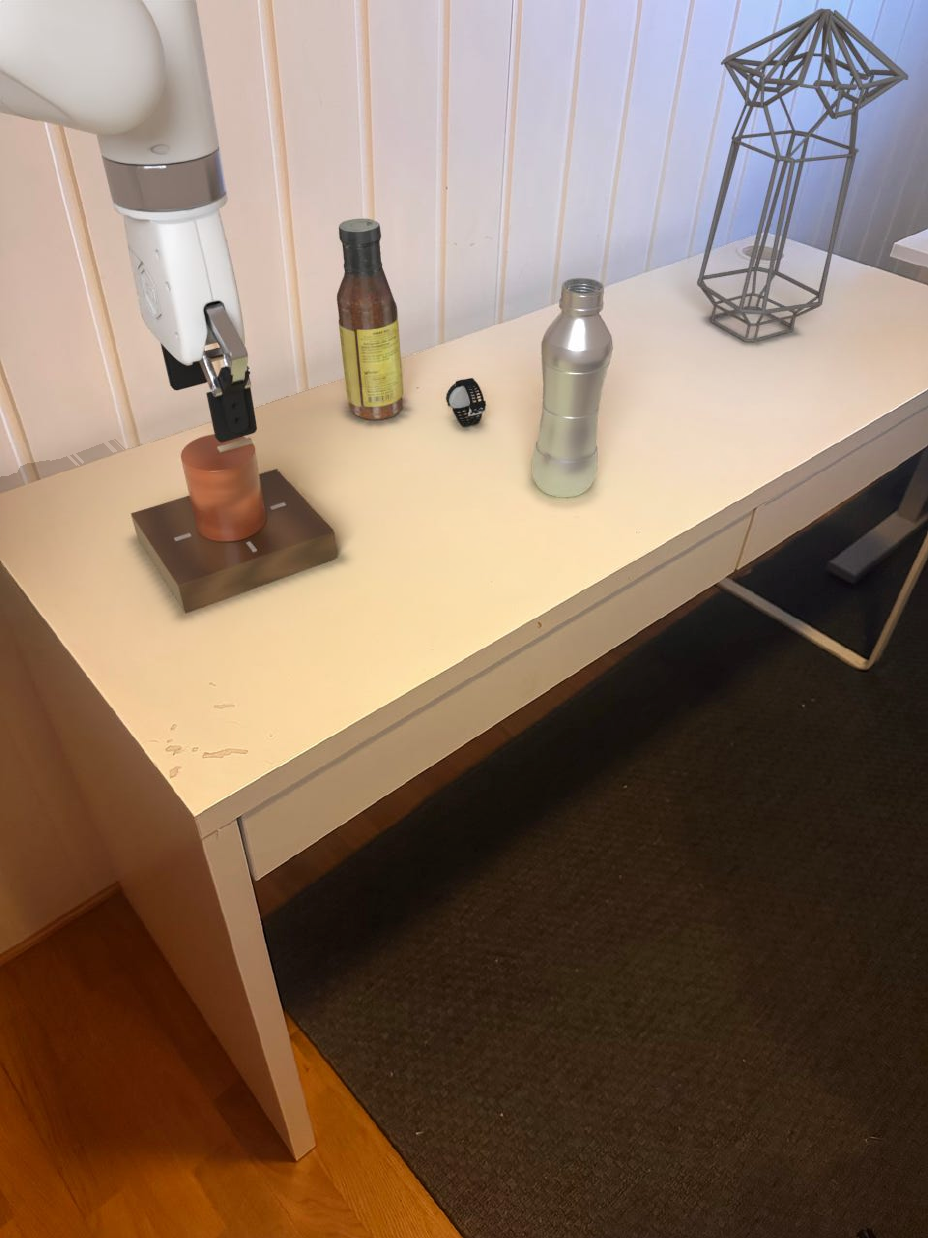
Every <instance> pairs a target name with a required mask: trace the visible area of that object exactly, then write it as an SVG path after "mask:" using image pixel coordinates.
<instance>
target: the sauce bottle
mask: <svg viewBox="0 0 928 1238" xmlns="http://www.w3.org/2000/svg"><path fill="white" fill-rule="evenodd" d="M338 236H339V240H340V242H341V245H342V254H343V261H344V263H343V269H344V273H343V277H342V280H341V282H340V285H339V288H338V291H337V293H336V304H337V311H338V328H339V337H340V347H341V355H342V364H343V373H344V381H345V388H346V397H347V400H348V402H349V410H350V412H351V414H353V415H355V416H357V417H359V418H361V419H364V420H369V421H383V420H387V419H389V418H393V417H395V416H396V415H398V414H399V413H400V412H401V411H402V409H403V407H404V405H403V396H404V380H403V367H402V366H403V365H402V355H401V354H402V353H401V339H400V329H399V327H400V326H399V314H398V313H399V312H398V306H397V303H396V301H395V298H394V295H393V293H392V290H391V287H390V285H389V281H388V279H387V276H386V273H385V270H384V268H383V263H382V256H381V255H382V253H381V244H380V241H381V240H382V239H381V238H382V232H381V226H380V223H379V222H378V221H376V220H374V219H371V218H353V219H352V218H351V219H348V220H344V221H342V222H341V223H339V224H338Z"/></svg>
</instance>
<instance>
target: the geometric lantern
mask: <svg viewBox="0 0 928 1238" xmlns="http://www.w3.org/2000/svg"><path fill="white" fill-rule="evenodd" d="M814 27H815V28H814ZM813 29H814V33H813V35H812V39H811V42H810V45H809V48H808V50H807V51H805V52H802V53H798V54H797V52H798V51H799V49H800V48H801V47H802V45H803V43H804V42H805V41H806V39H807V38H808V37H809V35H810V33H811V32H812V30H813ZM792 31H793V32H792ZM790 32H792V33H791V34H790V35H789V36H788V37H787V38H786V39H785V40H784V41H783V42H782V43H781V44H779V45H778V47H776V48H775V49H774V50H773V51H772V52H771V53H770V54H769V55H768V56H767V57H766V58H765V59H764V60H763V61H762V60H753V59H746V58H739V57H741V56H743V55H745V54H747V53H749V52H751V51H753V50H755V49H757V48H759V47H761V46H764V45H766V44H767V43H770V42H771V41H774V40H775V39H777V38H780V37H782V36H783V35H786V34H788V33H790ZM820 36H821V49H820V53H819V52H818V53H817V52H815V51H816V48H817V45H818V42H819V40H820ZM849 36H850V37H851V38H850V37H849ZM833 38H834V40H835V41H836V44H837V46H838V47H839V50H840V52H841V54H842V56H843V58H844V61H845V62H844V61H841V60H839V59H838V58H836V53H835V52H836V51H835V47H834V40H833ZM851 39H853V40H854V41H856V42H857V43H858V44H859V45H860V46H861V47H862V48H863V49H865V50H866V51H867V52H869V54H871V55H872V56H873V57H874V58H875V59H876V60H878V61H879V63H881V64H882V65H884V66H885V67H886V68H887V69H870V67H869V66H868V64H867V63H866V62H865V60H864V59H863V57H862V55H861V53H860V52H859V50H858V49H857V48H856V46H855V45H854V43H853V41H852V40H851ZM786 48H787V49H786ZM785 49H786V50H785ZM827 49H828V54H827ZM848 49H849V50H848ZM784 50H785V52H783V51H784ZM849 51H850V52H849ZM782 52H783V54H781V53H782ZM850 53H851V54H852V55H853V57H854V59H855V61H856V62H857V63H858V64H859V66H860V68H861V69H862V71H863V72H864V73H863V72H859V70H858V69H857V68H856V66H855V64H854V61H853V59H852V57H851V55H850ZM780 54H781V56H780V58H779V59H776V58H777V57H778V56H779V55H780ZM813 57H819V58H820V57H821V58H820V59H821V60H820V64H819V70H818V76H817V79H816V80H814V82H813V83H812V84H806V83H805V80H806V77H807V74H808V72H809V69H810V65H811V62H812V61H813V60H812V59H813ZM798 60H799V62H798V63H797V64H796V66H795V67H794V68H793V69H792V70H791V71H790V72H789V73H788V74H787V76H786V77H785V78H784V75H785V72H786V68H787V67H788V65H789V64H790V63H792V62H796V61H798ZM720 65H721V66H723V65H724V67H725V68H726V71H727V72H728V74H729V76H730V77H731V79H732V81H733V83H734V85H735V86H736V88H737V89H738V91H739V93H740V95H741V97H742V99H743V100H744V105H743V108H742V110H741V113H740V115H739V118H738V121H737V123H736V126H735V128H734V131H733V134H732V135H731V138H730V139H731V142H730V146H729V151H728V154H727V159H726V162H725V168H724V171H723V176H722V179H721V183H720V188H719V193H718V196H717V201H716V205H715V207H714V208H715V209H714V211H713V217H712V221H711V226H710V229H709V233H708V238H707V240H706V241H707V242H706V245H705V250H704V254H703V259H702V262H701V266H700V270H699V275H698V278H697V281H696V285H697V287H699V288H700V289H701V291H702V292H703V294H704V295H705V296H706V298H707V299H708V301H709V302H710V303H711V304H712V310H711V315H710V317H709V319H710V322H711V323H712V324H714V325H716V326H718V327H719V328H721V329H723V331H726V332H728V333H729V334H731V335H733V336H735V337H736V338H738V339H740V340H741V341H743V342H745V343H757V342H759V341H762V340H766V339H770V338H774V337H777V336H781V335H784V334H788V333H792V332H794V328H795V327H794V326H795V322H796V319H797V318H798V317H800V316H802V315H805V314H806V313H809V312H811V311H813V310H815V309H817V308H819V307H821V306H822V305H823V301H824V295H825V290H826V286H827V281H828V276H829V271H830V266H831V262H832V256H833V253H834V247H835V243H836V239H837V236H838V232H839V228H840V223H841V218H842V214H843V211H844V207H845V203H846V198H847V195H848V190H849V186H850V182H851V178H852V173H853V169H854V166H855V161H856V158H857V157H856V156H857V153H859V149H858V148H856V141H857V131H858V122H859V111H860V110H861V109H863V108H864V107H866V106H867V105H869V104H870V103H872V102H873V101H875V100H876V99H878V98H879V97H880V96H882V95H883V94H884V93H886V92H887V91H890V89H893V87H895V86H896V85H898V84H899V83H900V82H902V81H904V80H905V81H908V80H909V75H908V73H907V72H906V71H904V70H903V69H902V68H901V67H900V66H898V64H897V63H896V62H894V61H893V59H891V58H890V57H889V56H888V55H887V54H886V53H884V52H883V51H882V49H880V48H879V47H878V46H877V45H875V44H874V43H873V42H872V41H871V40H870V39H869V38H868V37H867V36H866V35H865V34H863V33H862V32H861V31H860V30H859V29H858V28H857V27H855V26H854V25H853V24H852V23H851V22H850V21H849V20H848V19H846V18H845V17H844V15H842V14H841V13H840V12H839V11H838V10H836V9H834V10H833V11H832V9H831V8H819V9H817V10H816V11H814V12H813V13H811V14H809V15H807V16H805V17H803V18H801V19H799V20H797V21H795V22H794V23H791V24H790V25H787V26H786V27H784V28H782V29H780V30H777V31H776V32H774V33H772V34H770V35H768V36H766V37H764V38H762V39H760V40H757V41H756V42H754V43H752V44H749V45H748V46H747V45H746V47H744V48H741V49H739V50H738V51H735V52H733V53H731V54H729V55H727V56H726V57H724V58H723V60H722V61H721V62H720ZM824 65H825V66H826V69H827V71H828V72H829V75H830V76H831V78H832V80H824V79H822V75H823V69H824ZM749 66H750V67H749ZM751 66H752V67H755V68H752V67H751ZM768 66H769V67H771V66H773V67H772V68H771V69H770V70H769V71H768V73H767V74H765V73H766V68H767V67H768ZM837 66H838V67H839V68H841V69H843V70H845V71H846V72H849V76H850V77H852V78H851V80H850V82H849V83H841V81H840V78H839V73H838V67H837ZM780 67H782V68H781V71H780V74H779V77H778V78H772V77H773V76H774V75H775V74H776V72H777V70H779V68H780ZM800 69H801V70H800ZM799 70H800V73H799V75H798V78H797V79H792V78H793V77H794V76H795V75H796V74H797V73H798V71H799ZM737 74H739V75H740V76H741V77H742V78H743V79H744V80H746V87H744V85H743V84H742V83H741V81H740V79H739V77H738V76H737ZM875 76H887V77H885V78H881V79H878V80H874V78H875ZM889 76H890V77H889ZM754 77H757V78H759V80H758V81H757V80H756V79H755V78H754ZM862 80H863V81H868V82H866V83H864V82H863V81H862ZM854 83H855V84H854ZM768 84H769V85H776V86H767V85H768ZM751 85H752V86H753V87H754V88H755V89H756V90H755V93H754V95H753V97H752V99H751V98H750V87H751ZM786 86H787V87H786ZM784 87H786V88H784ZM822 87H827V88H828V87H829V88H830V89H831V90H834V92H837V98H836V99H835V100H834V101H833V102H832V103H831V104H830V102H829V100H828V98H827V96H826V95H825V92H824V91H823V89H822ZM745 88H746V89H745ZM797 88H803V89H813V90H814V91H815V92H816V94H817V96H818V98H819V99H820V101H821V103H822V106H823V107H824V109H825V112H823V114H822V115H821V116H820V118H819V119H817V121H816V122H815V123H814V124H813V126H811V128H810V129H809V130H808V131H802V130H796V129H795V127H794V124H793V122H792V119H791V117H790V114H789V111H788V109H787V106H786V104H785V102H784V98H783V97H784V96H786V95H787V94H789V93H791V92H792V91H794V90H796V89H797ZM857 89H858V90H859V91H860V92H859V94H858V95H859V96H858V97H856V96H855V95H853V94H850V93H851V91H856V90H857ZM766 92H768V93H775V94H774V95H773V96H771V97H770V98H768V99H767V100H765V93H766ZM759 96H760V99H759V100H760V101H757V100H758V98H759ZM843 99H846V100H848V101H849V102H851V108H850V109H846V110H842V111H840V106H841V101H842V100H843ZM777 100H779V101H780V104H781V106H782V109H783V111H784V113H785V116H786V118H787V121H788V124H789V127H790V129H788V130H779V131H775V129H774V125H773V122H772V118H771V114H770V110H769V106H770V105H771V104H773V103H775V102H776V101H777ZM747 107H749V108H748V110H747ZM754 108H758V109H762V110H763V113H764V117H765V120H766V124H767V127H768V131H769V132H760V133H749V134H744V133H745V130H746V128H747V125H748V122H749V120H750V118H751V115H752V112H753V110H754ZM834 109H835V110H834ZM746 110H747V113H746V115H745V117H744V114H745V112H746ZM828 116H829V117H830V118H831V119H832V120H837V119H838V118H842V117H843V118H844V117H847V116H850V128H849V140H848V141H849V142H848V145H847V144H844V143H841V142H838V141H835V140H832V139H830V138H827V137H823V136H821V135H818V134H814V132H815V131H816V130H817V129H818V128H819V127H820V126H821V125H822V124H823V122H825V120H826V119H827V118H828ZM743 117H744V120H743ZM742 120H743V122H742ZM741 123H742V125H741ZM740 125H741V127H740ZM739 127H740V129H739ZM738 129H739V132H738ZM737 132H738V135H737ZM787 134H790V137H789V141H788V144H787V148H786V152H785V155H782V154H781V151H780V147H779V143H778V139H777V136H778V135H780V136H781V135H787ZM736 135H737V136H736ZM796 136H797V137H798V136H799V137H804V138H803V139H802V140H801V141H800V142H799V143H798V145H796V147H795V148H794V149H793V146H794V142H795V139H796ZM761 137H770V139H771V142H772V146H773V150H774V154H773V153H770V152H768V151H766V150H763V149H761V148H758V147H756V146H753V145H751V144H748V143H747V142H744V141H742V139H752V138H761ZM810 138H812V139H815V140H819V141H822V142H824V143H827V144H831V145H833V146H836V147H839V148H842V149H845V150H848V153H845V154H844V153H843V154H835V155H834V154H833V155H824V156H816V157H806V155H807V150H808V147H809V146H808V145H809V142H810ZM802 145H803V146H802ZM740 146H742V147H744V148H747V149H749V150H751V151H754V152H756V153H759V154H761V155H763V156H766V157H769V158H771V159H773V160H774V163H773V166H772V171H771V174H770V175H771V176H770V179H769V182H768V187H767V190H766V195H765V198H764V203H763V205H762V210H761V215H760V219H759V223H758V227H757V231H756V234H755V235H756V236H755V239H754V244H753V247H752V252H751V255H750V260H749V264H748V267H746V268H739V269H733V270H729V271H722V272H717V273H711V274H705V273H706V270H707V265H708V262H709V258H710V255H711V252H712V251H711V250H712V248H713V245H714V244H713V243H714V241H715V237H716V233H717V229H718V226H719V222H720V219H721V215H722V212H723V208H724V204H725V201H726V197H727V193H728V190H729V187H730V183H731V180H732V175H733V172H734V169H735V165H736V160H737V157H738V153H739V151H740ZM801 146H802V150H801V153H800V158H796V159H795V158H794V157H792V156H793V155H795V153H796V152H798V150H799V149H800V148H801ZM792 149H793V150H792ZM837 159H846V160H845V165H844V170H843V173H842V180H841V183H840V189H839V195H838V199H837V203H836V209H835V214H834V218H833V219H834V220H833V225H832V229H831V234H830V239H829V244H828V249H827V254H826V259H825V263H824V267H823V272H822V275H821V279H820V283H819V288H818V290H816V289H814V288H812V287H810V286H808V285H806V284H804V283H802V282H800V281H799V280H796V279H794V278H792V277H790V276H789V275H787V274H784V273H782V272H781V271H779V269H780V265H781V261H782V257H783V254H784V253H783V251H784V248H785V245H786V240H787V237H788V236H787V235H788V232H789V227H790V223H791V219H792V215H793V211H794V206H795V202H796V199H797V198H796V197H797V193H798V189H799V188H798V187H799V185H800V181H801V176H802V172H803V167H804V165H805V163H808V162H815V161H816V162H819V161H828V160H837ZM780 162H783V163H782V166H781V170H780V174H779V177H778V180H777V184H776V187H775V192H774V195H773V198H772V202H771V197H772V193H773V190H774V189H773V188H774V185H775V180H776V176H777V172H778V167H779V165H780ZM796 163H798V167H797V169H796V170H797V171H796V175H795V179H794V183H793V188H792V192H791V197H790V201H789V206H788V210H787V205H788V199H789V195H790V190H791V185H792V180H793V175H794V170H795V165H796ZM788 164H789V165H788ZM787 168H788V171H787ZM786 171H787V176H786V181H785V186H784V190H783V196H782V201H781V207H780V211H779V215H778V220H777V226H776V232H775V236H774V242H773V245H772V246H773V247H772V251H771V257H770V261H769V267H768V268H767V267H762V266H760V263H761V259H762V255H763V252H764V249H765V246H766V242H767V238H768V234H769V232H770V228H771V225H772V221H773V218H774V214H775V210H776V206H777V203H778V200H779V196H780V194H781V193H780V192H781V189H782V185H783V183H784V178H785V175H786ZM770 202H771V206H770ZM769 206H770V210H769V212H768V209H769ZM786 210H787V213H786ZM767 213H768V216H767ZM785 215H786V219H785ZM766 217H767V221H766ZM784 219H785V222H784ZM765 221H766V223H765ZM783 224H784V225H783ZM764 225H765V228H764ZM783 226H784V227H783ZM763 230H764V231H763ZM782 231H783V232H782ZM762 233H763V235H762ZM761 237H762V238H761ZM760 241H761V242H760ZM757 272H761V273H766V274H767V277H766V283H765V284H764V286H763V288H762V289H761V291H760V292H759V293H756V284H757V283H756V282H757ZM739 274H746V275H745V280H744V283H743V287H742V288H743V289H742V291H741V295H737V296H734V297H729V298H726V297H724V296H723V295H721V294H720V293H718V292H717V291H715V290H714V289H712V288H710V287H709V286H707V284H706V283H705V280H711V279H717V278H723V277H727V276H734V275H739ZM752 274H753V275H752ZM752 276H753V277H752ZM776 276H777V277H779V278H781V279H782V280H785V281H786V282H788V283H791V284H793V285H795V286H796V287H798V288H801V289H803V290H805V291H806V292H808V293H811V294H812V295H814V297H813V298H811V299H810V300H809V301H807V302H806V303H801V304H800V303H799V304H793V305H788V306H786V305H784V304H782V303H780V302H777V301H776V300H773V299H771V298H769V295H770V289H771V283H772V281H773V279H774V277H776ZM751 278H752V287H751V292H749V293H748V290H749V286H750V282H751ZM714 297H715V298H716V299H717V301H716V299H715V298H714ZM753 297H756V298H757V300H756V303H755V306H753V305H752V300H753ZM746 298H748V302H747V306H745V302H746ZM761 299H762V304H761V307H760V306H759V305H760V302H761ZM736 300H739V304H738V305H737V304H736V303H734V302H733V301H736ZM768 302H769V303H770V304H773V305H775V306H777V307H774V308H773V307H772V308H767V304H768ZM720 304H725V305H727V306H728V307H730V308H731V310H729V309H727V308H724V306H721V305H720ZM717 309H718V310H721V311H722V312H720V313H716V312H717ZM737 312H738V313H739V314H740V315H741V316H742V317H740V316H739V315H738V314H736V313H737ZM782 312H790V313H792V314H790V315H785V316H782V317H779V316H777V315H775V313H782ZM747 314H748V315H749V314H750V315H759V318H758V319H757V321H756V322H750V320H749V318H748V317H747ZM726 315H729V316H731V317H733V318H735V319H736V320H738V321H739V322H741V323H744V325H747V327H746V332H745V337H744V336H742V335H741V334H739V333H737V332H735V331H734V330H733V329H731V328H728V327H727V326H725V325H723V324H722V323H720V322H718V321H717V320H716V318H720V317H723V316H726ZM765 315H767V316H768V317H771V318H772V319H769V320H763V318H764V316H765ZM762 320H763V321H762ZM786 320H790V321H786ZM776 322H780V323H782V324H784V325H785V326H787V327H788V329H784V330H782V331H778V332H774V333H770V334H767V335H763V336H760V337H758V334H759V330H760V326H763V325H767V324H772V323H776ZM751 327H755V332H754V335H753V338H749V336H750V330H751Z"/></svg>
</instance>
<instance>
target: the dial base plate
mask: <svg viewBox="0 0 928 1238" xmlns="http://www.w3.org/2000/svg"><path fill="white" fill-rule="evenodd" d="M259 476H260V482H261V488H262V495H263V501H264V507H265V513H266V522H265V524H264V526H263V527H262V529H260V530H259V531H258V532H257V533H255V534H254V535H252V536H250V537H247V538H245V539H241V540H237V541H228V542H222V541H214V540H211V539H208V538H206V537H204V536H202V535H201V534H200V533H199V532H198V530H197V527H196V523H195V519H194V514H193V510H192V505H191V501H190V496H189V495H187V496H183V497H179V498H176V499H174V500H173V499H172V500H169V501H166V502H163V503H161V504H157V505H154V506H151V507H146V508H144V509H141V510H138V511H137V510H136V511H135V512H131V513H130V517H131V519H132V523H133V527H134V530H135V534H136V537H137V541H138V543H139V544H140V545H141V547H142V548H143V550H144V552H145V554H146V555H147V556H148V558H149V559H150V561H151V563H152V564H153V566H154V567H155V569H156V570H157V572H158V573H159V575H160V577H161V578H162V580H163V581H164V583H165V584H166V586H167V587H168V589H169V590H170V592H171V594H172V596H173V597H174V598H175V599H176V601H177V603H178V604H179V606H180V607H181V609H182V610H183V612H184V614H187V613H190V612H193V611H197V610H200V609H201V608H204V607H207V606H210V605H213V604H215V603H218V602H221V601H223V600H227V599H229V598H232V597H234V596H238V595H240V594H242V593H245V592H248V591H251V590H253V589H257V588H259V587H262V586H266V585H268V584H270V583H273V582H275V581H279V580H281V579H284V578H286V577H290V576H293V575H295V574H299V573H301V572H302V571H306V570H308V569H312V568H314V567H317V566H321V565H323V564H325V563H328V562H331V561H334V560H336V559H338V554H337V545H336V535H335V534H336V533H335V530H334V529H333V527H331V525H330V524H329V523H328V522H326V520H325V519H324V518H323V517H322V516H321V515H320V514H319V513H318V511H316V509H314V508H313V506H312V505H311V504H310V503H309V502H308V501H307V500H306V499H305V498H304V497H303V496H302V494H301V493H300V492H299V491H298V490H297V488H295V487H294V486H293V484H291V483H290V481H288V479H287V478H286V477H285V476H284V475H283V474H282V473H281V472H280V470H278V468H274V469H271V470H268V471H264V472H260V473H259Z"/></svg>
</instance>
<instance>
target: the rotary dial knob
mask: <svg viewBox="0 0 928 1238" xmlns="http://www.w3.org/2000/svg"><path fill="white" fill-rule="evenodd" d="M180 461H181V465H182V469H183V474H184V478H185V482H186V487H187V492H188V496H190V501H191V505H192V510H193V514H194V519H195V523H196V527H197V530H198V532H199V533H200V534H201V535H202V536H204V537H206V538H208V539H211V540H214V541H222V542H228V541H237V540H241V539H245V538H247V537H250V536H252V535H254V534H255V533H257V532H258V531H259V530H260V529H262V527H263V526H264V524H265V522H266V513H265V507H264V501H263V495H262V488H261V482H260V476H259V474H260V470H259V464H258V463H259V462H258V457H257V452H256V446H255V444H254V442H253V439H252V438H251V437H246V436H243V437H240V438H236V439H233V440H230V441H226V442H223V443H221V442H219V441H218V440H217V439H216V438H215V434H214V433H213V434H208V435H204V436H201V437H199V438H195V439H194V440H192V441H190V442H189V443H188V444H186V445H185V446H184V447H183V449H182V450H181V452H180Z"/></svg>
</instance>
